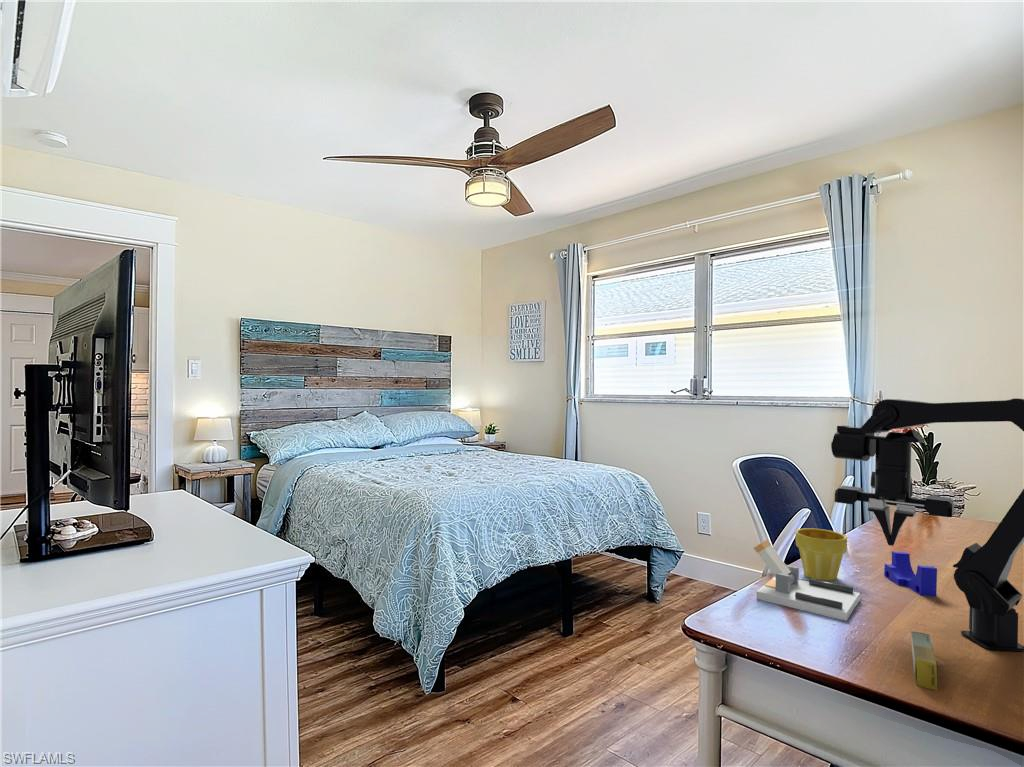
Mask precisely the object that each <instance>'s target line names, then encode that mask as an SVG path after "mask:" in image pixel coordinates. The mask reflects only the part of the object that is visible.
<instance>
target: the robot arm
mask: <svg viewBox="0 0 1024 767" xmlns="http://www.w3.org/2000/svg"><path fill="white" fill-rule="evenodd" d="M980 422H982V423H984V422H985V423H987V422H988V423H990V422H992V423H994V422H996V423H997V422H1011V423H1012V424H1014V425H1015V426H1017V427H1018V428H1019V429H1020V430H1022V431H1023V432H1024V398H1015V397H1014V398H1011V399H1005V400H986V401H985V400H983V401H982V400H981V401H961V402H959V401H957V402H954V401H953V402H929V401H920V400H918V401H917V400H909V399H901V398H900V399H899V398H897V399H895V398H894V399H891V398H887V399H881V400H880V401H877V403H876V404H875V405H874V407H873V408H872V413H871V416H870V417H869V418H868V419H867V420H866V421H865V423H864V424H863V425H861V427H860V426H859V427H857V426H850V425H843V424H841V425H837V426H836V432H835V433H834V434H833V439H832V441H831V445H830V447H831V453H832V456H833V457H834V458H836V459H842V460H852V461H861V462H862V461H863V462H867V461H869V460H870V459H871V458H872V457H873V458H874V457H875V461H874V462H875V463H874V471H871V476H870V487H871V488H872V489H874V492H873V493H872V492H864V491H863V488H862V487H858V486H849V485H842V486H840V487H838V488H837V489H836V490H835V492H834V502H835V503H837V504H838V503H839V504H845V505H853V504H854V503H856V502H857V501H858V502H865V503H868V507H867V511H868V512H870V513H871V512H872V513H873V514H874V516H875V518H876V519H877V521H878V523H879V525H880V528H881V530H882V532H883V534H884V537H885V540H886V542H887V545H888V546H890V547H891V546H892V547H894V545H895V544H896V542H897V538H898V537H899V533H900V531H901V529H902V527H903V524H904V522H905V521H906V520H907V518H908V517H909V518H914V516H915V515H916V514H917V509H920V510H924V511H926V512H927V513H928V514H929V515H930V516H936V517H942V518H943V517H944V518H953V516H954V514H955V510H954V509H955V502H954V500H953V499H952V498H951V497H944V496H935V495H927V496H926V498H925V499H923V498H915V497H913V488H914V487H913V486H914V485H913V481H912V478H911V476H912V443H916V444H919V443H924V442H925V441H926V439H925V438H924V437H922V435H920V434H919V433H918V432H917V430H915V429H909V430H907V431H906V432H897V431H895V432H894V431H892V430H899V429H907V428H913V427H918V426H920V427H921V426H925V425H930V424H938V423H980ZM877 433H887V434H886V435H885V436H884V435H883V436H881V435H875V434H877ZM890 506H894V507H896V508H897V509H896V510H895V511H894V513H893V519H892V526H891V517H890V516H891V515H890V514H891V513H890V509H891V508H890ZM1023 543H1024V488H1023V489H1022V490H1021V492H1020V493H1019V495H1018V496H1017V498H1016V499H1015V501H1014V502H1013V503H1012V505H1011V507H1010V508H1009V510H1008V511H1007V512H1006V514H1005V515H1004V516H1003V518H1002V520H1001V521H1000V522H999V524H998V525H997V527H996V528H995V529H994V531H993V532H992V533H991V535H990V536H989V538H988V539H987V541H986V542H985V543H984V544H983V545H982V546H981V545H980V544H979V543H977V542H974V543H973V544H971V545H969V546H967V547H965V548H964V550H963V552H962V555H961V557H960V558H959V561H957V562H956V563H954V564H952V568H956V569H955V570H954V573H953V581H954V582H955V584H956V586H957V588H958V589H959V590H960V591H961V592H962V593H963V594H964V596H965V598H966V601H967V604H968V607H969V619H968V620H969V622H968V623H969V624H968V629H969V630H961V631H960V634H961V635H963V636H965V637H966V638H968V639H969V640H971V641H973V642H974V643H977V644H978V645H980V646H981V647H983V648H985V649H987V650H990V651H1013V652H1014V651H1015V652H1016V651H1017V652H1018V651H1019V652H1024V645H1023V644H1021V643H1019V613H1018V612H1017V610H1016V609H1015V606H1018V605H1019V604H1020V601H1021V599H1022V598H1023V593H1021V592H1020V591H1019V590H1018V589H1017V588H1016V587H1015V586H1014V584H1012V583H1011V582H1010V581H1009V580H1008V577H1009V574H1010V572H1011V569H1012V565H1013V562H1014V559H1015V555H1016V553H1017V552H1018V550H1019V548H1021V546H1022V545H1023Z"/></svg>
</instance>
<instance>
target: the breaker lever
mask: <svg viewBox="0 0 1024 767" xmlns="http://www.w3.org/2000/svg"><path fill="white" fill-rule="evenodd" d="M753 550H754V551H755V552H756V553H757V554H758V555H759V557H760V559H762V561H763V563H764V564H765V565H766V567H767V568H768V569H769V571H770V573H771V574H772V575H773V577H775V578H776V573H782V574H786V575H790V584H791V583H792V582H793V581H794V580H795V576H794V574H792V573H790V572H791V571H790V570H789V568H788V567H787V566H786V565H787V564H786V563H785V561H783V559H782V558H781V556H780V555H779V554H778V552H777V551H776V550H775V548H774V547H773V545H772V544H771V542H770V541H769V540H768V539H766V540H764V541H762V542H761V543H759V544H757V545H756V546H755V547H753Z"/></svg>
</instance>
